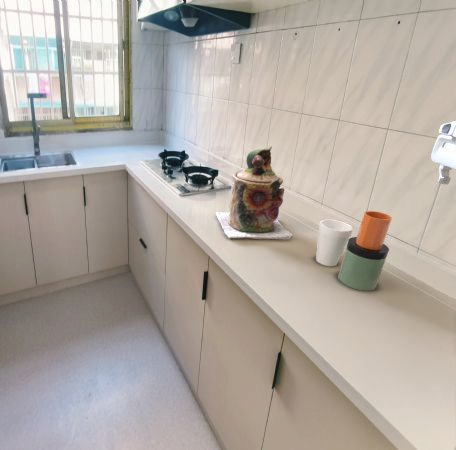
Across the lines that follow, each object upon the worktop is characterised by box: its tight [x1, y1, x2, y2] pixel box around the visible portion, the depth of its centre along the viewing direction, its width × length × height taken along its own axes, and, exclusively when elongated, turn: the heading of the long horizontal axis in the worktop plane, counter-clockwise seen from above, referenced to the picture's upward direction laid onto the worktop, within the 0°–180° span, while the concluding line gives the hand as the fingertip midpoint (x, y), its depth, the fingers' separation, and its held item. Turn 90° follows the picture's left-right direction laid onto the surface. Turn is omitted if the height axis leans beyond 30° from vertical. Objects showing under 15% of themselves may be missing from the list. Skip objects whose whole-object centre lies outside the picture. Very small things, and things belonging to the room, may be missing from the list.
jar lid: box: [346, 236, 390, 259], centre depth 96 cm, size 10×10×2 cm
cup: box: [356, 210, 392, 250], centre depth 94 cm, size 6×6×9 cm
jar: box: [337, 246, 387, 292], centre depth 98 cm, size 10×10×12 cm
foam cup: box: [315, 218, 354, 267], centre depth 108 cm, size 10×9×13 cm
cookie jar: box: [215, 145, 294, 240], centre depth 128 cm, size 25×25×32 cm
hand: (455, 189), depth 82 cm, fingers open, 8 cm apart
